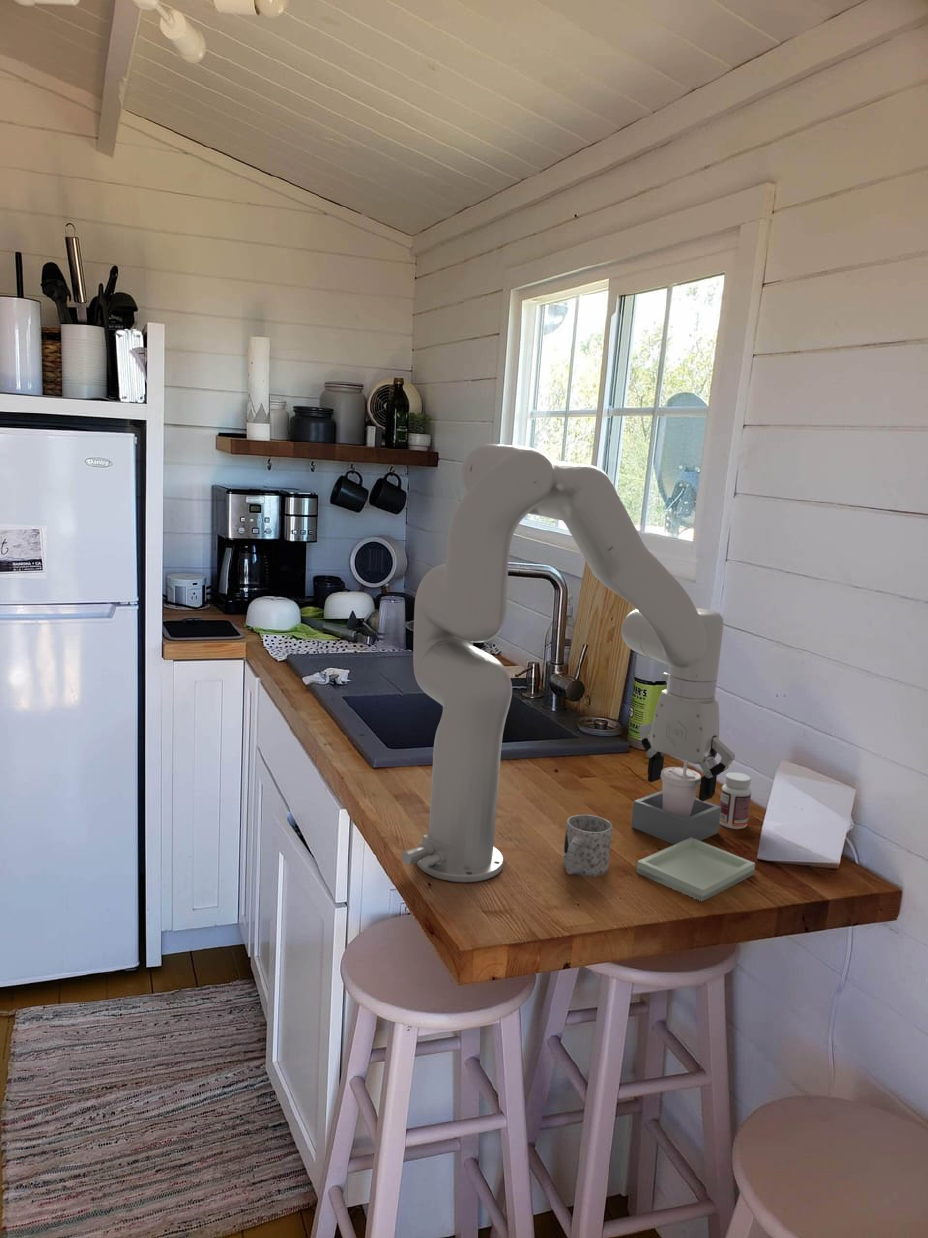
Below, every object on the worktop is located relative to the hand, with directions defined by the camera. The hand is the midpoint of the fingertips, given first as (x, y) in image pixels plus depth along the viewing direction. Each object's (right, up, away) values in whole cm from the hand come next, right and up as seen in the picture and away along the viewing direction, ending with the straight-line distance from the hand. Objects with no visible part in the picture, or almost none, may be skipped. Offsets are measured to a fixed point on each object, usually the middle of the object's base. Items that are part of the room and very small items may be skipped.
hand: (679, 789), depth 155 cm
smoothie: (-1, -7, +1) cm, 7 cm away
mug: (-18, -9, -15) cm, 25 cm away
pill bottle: (+10, -7, +6) cm, 13 cm away
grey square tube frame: (0, -7, +1) cm, 7 cm away
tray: (-1, -10, -14) cm, 17 cm away
